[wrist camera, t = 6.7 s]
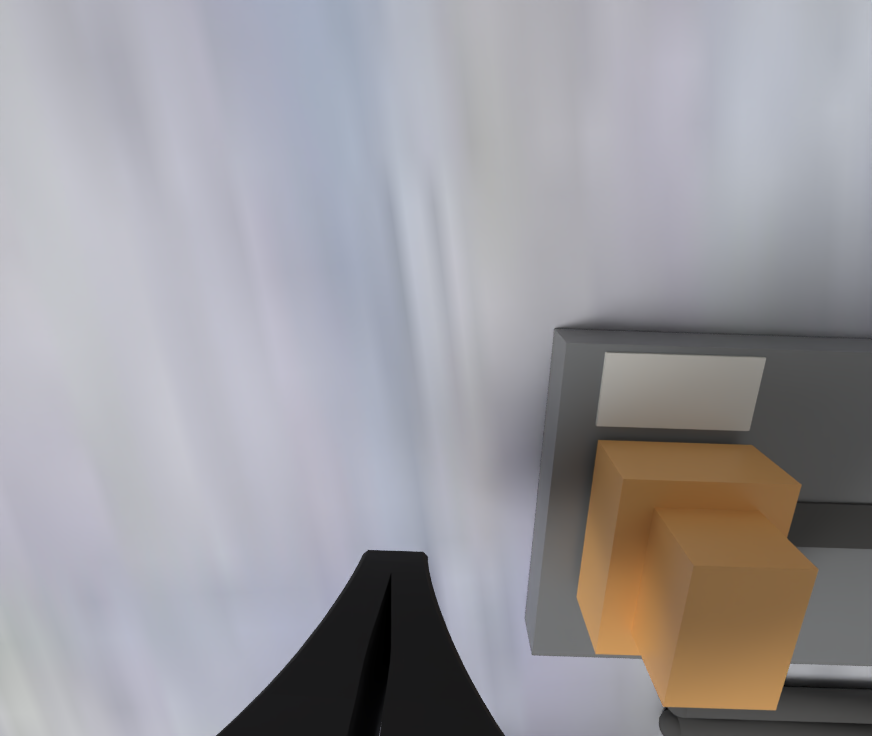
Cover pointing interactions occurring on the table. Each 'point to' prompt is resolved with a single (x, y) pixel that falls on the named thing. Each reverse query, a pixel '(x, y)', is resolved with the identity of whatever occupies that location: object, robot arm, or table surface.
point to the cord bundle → (780, 716)
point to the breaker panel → (714, 424)
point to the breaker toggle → (695, 569)
